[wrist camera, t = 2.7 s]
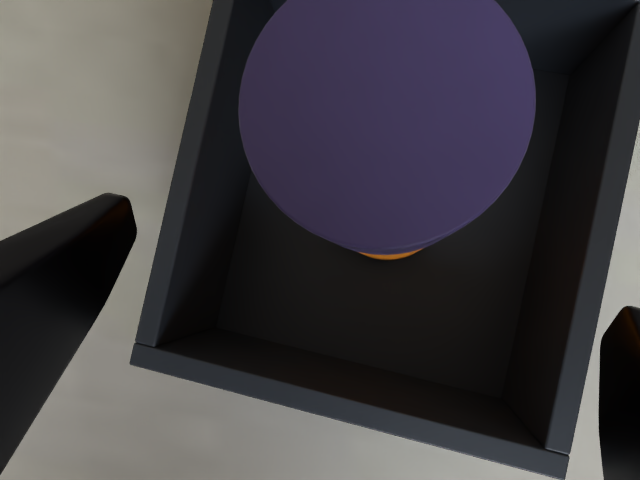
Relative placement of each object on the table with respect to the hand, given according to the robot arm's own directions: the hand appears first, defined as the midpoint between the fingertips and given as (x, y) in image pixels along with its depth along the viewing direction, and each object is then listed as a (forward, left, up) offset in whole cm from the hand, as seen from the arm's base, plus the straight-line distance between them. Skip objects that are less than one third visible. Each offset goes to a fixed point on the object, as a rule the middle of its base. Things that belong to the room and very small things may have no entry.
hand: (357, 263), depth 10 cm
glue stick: (+2, 0, -9) cm, 9 cm away
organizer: (+2, 0, -9) cm, 10 cm away
